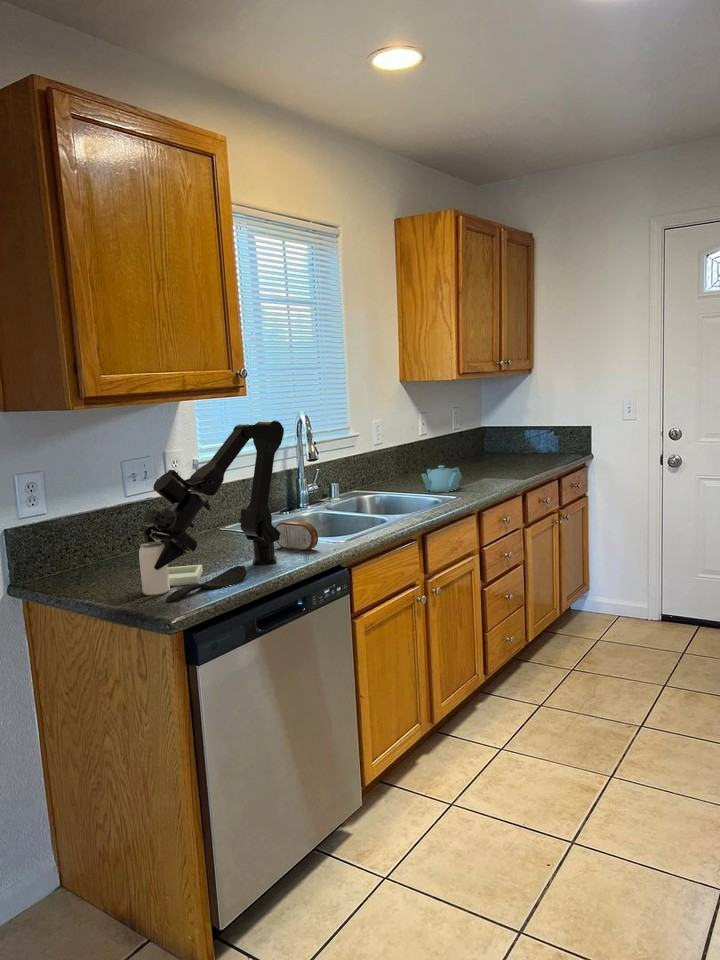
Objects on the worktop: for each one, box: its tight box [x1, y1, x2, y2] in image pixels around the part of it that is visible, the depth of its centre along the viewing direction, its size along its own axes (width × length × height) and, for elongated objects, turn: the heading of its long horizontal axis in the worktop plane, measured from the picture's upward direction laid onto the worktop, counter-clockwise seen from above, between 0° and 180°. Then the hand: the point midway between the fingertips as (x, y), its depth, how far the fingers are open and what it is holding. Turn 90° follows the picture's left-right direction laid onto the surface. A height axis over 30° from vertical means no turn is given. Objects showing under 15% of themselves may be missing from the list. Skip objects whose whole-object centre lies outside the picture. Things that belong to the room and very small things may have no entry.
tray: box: [168, 564, 204, 587], centre depth 193 cm, size 12×12×2 cm
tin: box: [274, 519, 319, 551], centre depth 220 cm, size 15×3×8 cm, turn 56°
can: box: [138, 542, 171, 597], centre depth 181 cm, size 6×6×12 cm
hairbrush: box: [165, 562, 248, 604], centre depth 183 cm, size 8×4×25 cm
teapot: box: [421, 464, 463, 491], centre depth 312 cm, size 15×15×11 cm
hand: (148, 567), depth 180 cm, fingers closed on can, 6 cm apart
